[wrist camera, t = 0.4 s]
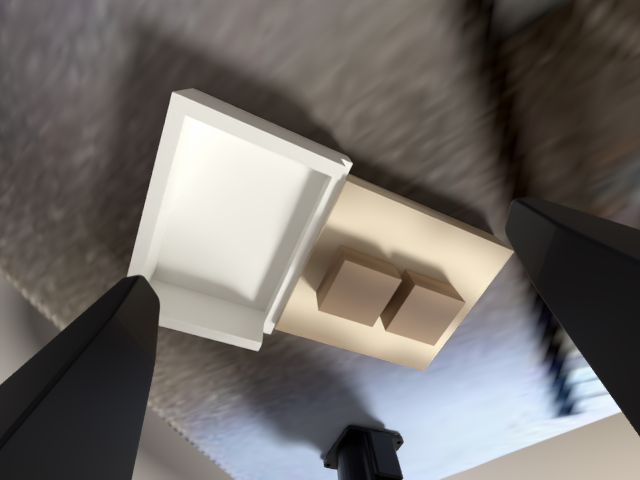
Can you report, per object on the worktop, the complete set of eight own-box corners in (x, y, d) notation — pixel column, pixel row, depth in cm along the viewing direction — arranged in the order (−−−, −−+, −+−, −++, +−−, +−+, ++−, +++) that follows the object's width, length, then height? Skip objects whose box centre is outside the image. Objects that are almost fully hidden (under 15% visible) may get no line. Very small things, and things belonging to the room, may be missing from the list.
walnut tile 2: (423, 327, 26) (434, 346, 24) (378, 312, 25) (385, 331, 23) (452, 285, 24) (465, 302, 23) (405, 268, 23) (415, 285, 22)
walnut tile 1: (366, 308, 25) (372, 327, 23) (315, 292, 24) (318, 310, 22) (393, 264, 23) (402, 280, 21) (340, 244, 22) (345, 260, 20)
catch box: (271, 317, 27) (269, 354, 24) (142, 279, 25) (117, 314, 21) (347, 156, 22) (359, 172, 19) (193, 87, 20) (172, 91, 16)
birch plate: (413, 348, 30) (423, 371, 28) (275, 307, 27) (275, 329, 25) (494, 235, 26) (514, 251, 24) (341, 170, 23) (346, 181, 20)
